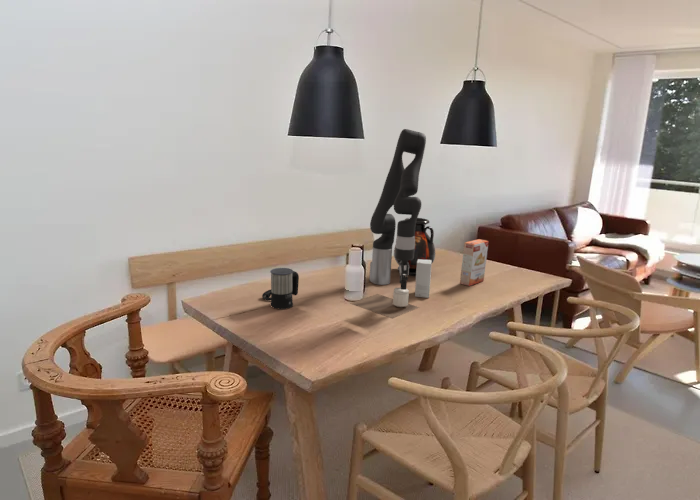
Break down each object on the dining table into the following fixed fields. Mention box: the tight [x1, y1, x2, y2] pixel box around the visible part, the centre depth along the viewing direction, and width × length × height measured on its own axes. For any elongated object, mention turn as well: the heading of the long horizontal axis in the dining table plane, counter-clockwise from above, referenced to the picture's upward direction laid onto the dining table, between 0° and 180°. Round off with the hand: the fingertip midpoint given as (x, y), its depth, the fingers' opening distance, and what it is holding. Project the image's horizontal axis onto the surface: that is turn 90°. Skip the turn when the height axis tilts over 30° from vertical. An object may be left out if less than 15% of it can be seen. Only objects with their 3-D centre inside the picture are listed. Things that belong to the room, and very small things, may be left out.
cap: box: [392, 287, 410, 307], centre depth 193 cm, size 6×6×6 cm
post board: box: [349, 293, 420, 319], centre depth 193 cm, size 22×18×8 cm
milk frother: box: [261, 267, 300, 310], centre depth 195 cm, size 14×16×15 cm
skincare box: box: [414, 259, 433, 299], centre depth 212 cm, size 8×7×16 cm
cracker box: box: [459, 238, 489, 287], centre depth 233 cm, size 14×6×21 cm, turn 136°
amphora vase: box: [393, 217, 436, 277], centre depth 246 cm, size 22×22×28 cm
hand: (402, 286), depth 191 cm, fingers open, 8 cm apart
